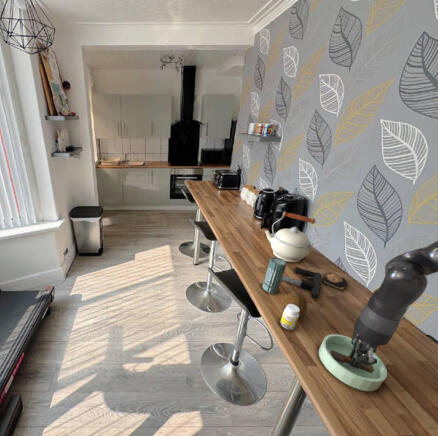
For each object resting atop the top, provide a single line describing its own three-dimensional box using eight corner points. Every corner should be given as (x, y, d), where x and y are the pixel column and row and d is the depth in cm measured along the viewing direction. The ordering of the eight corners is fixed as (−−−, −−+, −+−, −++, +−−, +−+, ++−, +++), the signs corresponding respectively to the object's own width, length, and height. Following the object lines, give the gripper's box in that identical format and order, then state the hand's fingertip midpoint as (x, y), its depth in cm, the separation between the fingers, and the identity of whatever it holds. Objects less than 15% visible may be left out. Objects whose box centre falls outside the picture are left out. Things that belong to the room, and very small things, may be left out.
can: (280, 291, 105) (289, 263, 99) (271, 295, 103) (280, 266, 96) (268, 282, 110) (276, 255, 104) (259, 286, 107) (267, 258, 101)
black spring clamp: (280, 281, 107) (323, 296, 98) (287, 262, 122) (325, 273, 113) (278, 287, 108) (321, 302, 99) (285, 268, 123) (323, 279, 114)
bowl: (371, 357, 77) (377, 347, 75) (388, 402, 65) (395, 392, 63) (316, 336, 84) (320, 327, 82) (321, 373, 71) (326, 364, 69)
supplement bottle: (290, 320, 90) (296, 303, 87) (297, 330, 86) (304, 313, 82) (277, 319, 90) (283, 302, 87) (283, 329, 86) (290, 312, 82)
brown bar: (369, 367, 72) (372, 364, 71) (372, 375, 70) (374, 371, 69) (330, 351, 76) (332, 348, 76) (331, 358, 74) (333, 355, 73)
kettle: (311, 256, 133) (326, 216, 123) (305, 270, 120) (321, 226, 110) (265, 241, 148) (275, 204, 138) (255, 252, 135) (266, 212, 125)
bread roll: (343, 291, 106) (346, 285, 105) (321, 282, 112) (324, 276, 110) (347, 281, 113) (350, 275, 112) (326, 273, 119) (329, 267, 117)
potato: (282, 318, 91) (288, 303, 88) (280, 298, 101) (285, 283, 98) (306, 326, 88) (313, 310, 85) (302, 304, 98) (308, 289, 95)
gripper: (404, 347, 59) (375, 390, 66) (386, 311, 70) (362, 351, 77) (366, 334, 62) (342, 376, 69) (354, 302, 73) (334, 341, 80)
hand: (353, 363), depth 73 cm, fingers closed on brown bar, 1 cm apart
